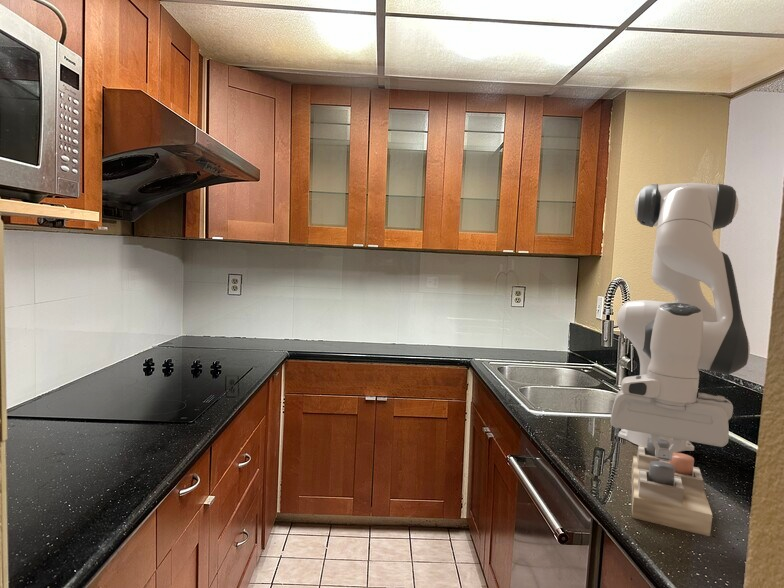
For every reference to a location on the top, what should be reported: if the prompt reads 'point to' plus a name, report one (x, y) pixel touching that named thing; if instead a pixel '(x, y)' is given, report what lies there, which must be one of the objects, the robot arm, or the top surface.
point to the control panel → (669, 498)
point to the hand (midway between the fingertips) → (663, 458)
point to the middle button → (682, 463)
